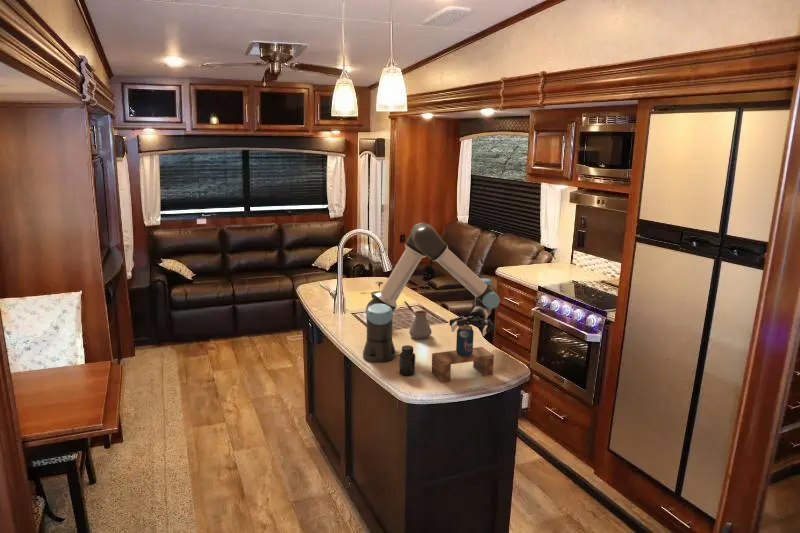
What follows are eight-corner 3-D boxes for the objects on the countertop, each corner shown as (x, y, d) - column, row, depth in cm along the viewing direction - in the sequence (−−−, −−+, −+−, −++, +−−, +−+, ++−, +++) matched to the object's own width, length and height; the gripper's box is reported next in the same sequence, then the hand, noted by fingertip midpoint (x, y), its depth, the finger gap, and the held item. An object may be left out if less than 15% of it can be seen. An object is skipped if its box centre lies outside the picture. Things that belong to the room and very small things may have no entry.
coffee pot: (436, 338, 275) (436, 309, 271) (417, 342, 269) (417, 313, 265) (412, 326, 292) (413, 299, 289) (394, 329, 286) (394, 302, 283)
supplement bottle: (395, 374, 231) (396, 347, 228) (404, 369, 236) (405, 343, 234) (409, 378, 227) (410, 351, 224) (418, 373, 233) (418, 346, 230)
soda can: (467, 358, 225) (468, 331, 223) (453, 354, 229) (454, 327, 227) (475, 353, 231) (476, 326, 228) (461, 349, 235) (462, 323, 232)
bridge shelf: (441, 382, 223) (442, 362, 221) (431, 373, 232) (432, 353, 231) (492, 374, 232) (493, 355, 230) (481, 366, 241) (482, 346, 239)
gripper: (504, 327, 251) (496, 342, 231) (451, 321, 259) (439, 335, 240) (505, 311, 249) (497, 326, 230) (452, 305, 257) (440, 319, 238)
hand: (467, 330), depth 235 cm, fingers open, 13 cm apart
